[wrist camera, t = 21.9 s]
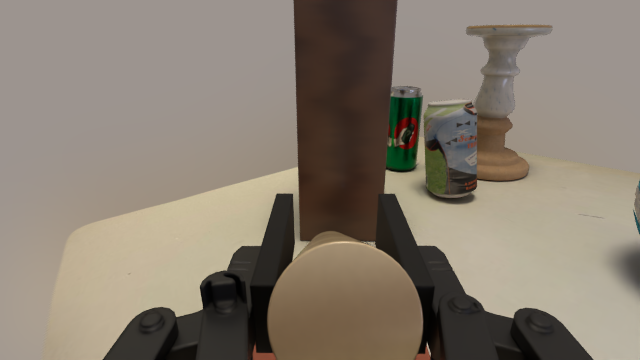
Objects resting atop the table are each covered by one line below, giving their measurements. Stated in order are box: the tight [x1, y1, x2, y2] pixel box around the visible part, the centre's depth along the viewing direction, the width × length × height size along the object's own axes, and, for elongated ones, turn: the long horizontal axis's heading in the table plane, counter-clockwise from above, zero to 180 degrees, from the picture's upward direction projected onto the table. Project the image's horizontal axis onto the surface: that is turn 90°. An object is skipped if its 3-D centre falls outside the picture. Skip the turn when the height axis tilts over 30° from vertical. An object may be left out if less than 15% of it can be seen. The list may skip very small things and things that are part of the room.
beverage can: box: [424, 99, 477, 198], centre depth 44 cm, size 6×7×12 cm
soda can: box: [386, 86, 423, 171], centre depth 53 cm, size 5×5×12 cm
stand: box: [294, 0, 397, 241], centre depth 35 cm, size 8×10×29 cm
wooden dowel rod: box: [267, 231, 423, 360], centre depth 19 cm, size 20×4×4 cm
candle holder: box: [466, 25, 552, 181], centre depth 52 cm, size 12×12×20 cm
